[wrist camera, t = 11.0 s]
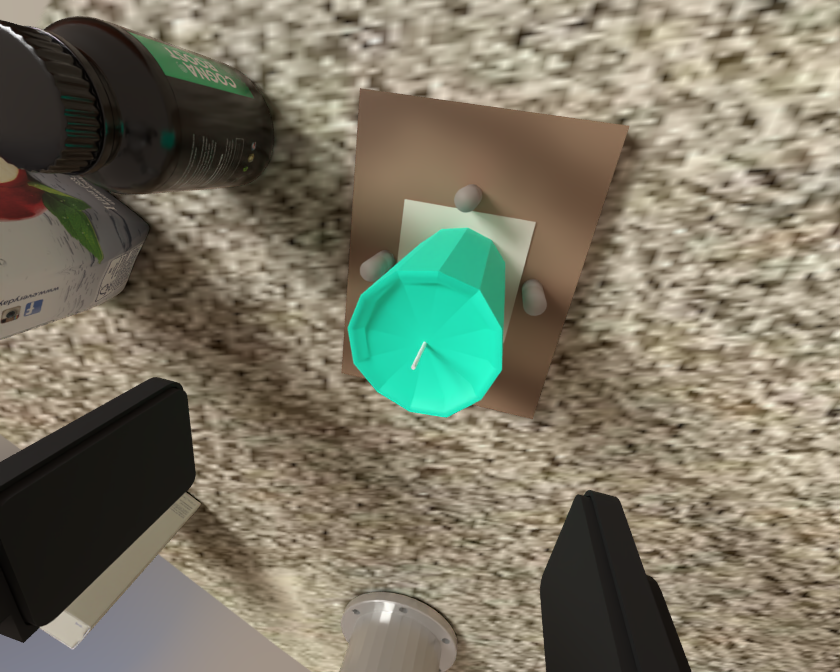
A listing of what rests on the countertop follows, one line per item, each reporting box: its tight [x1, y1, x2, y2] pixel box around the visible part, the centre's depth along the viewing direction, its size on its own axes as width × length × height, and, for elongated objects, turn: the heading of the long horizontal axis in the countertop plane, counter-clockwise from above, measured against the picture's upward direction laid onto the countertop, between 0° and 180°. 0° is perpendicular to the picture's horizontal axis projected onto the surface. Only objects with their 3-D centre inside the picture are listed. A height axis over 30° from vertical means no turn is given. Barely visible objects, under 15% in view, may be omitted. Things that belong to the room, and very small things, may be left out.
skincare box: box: [40, 492, 201, 649], centre depth 36 cm, size 6×4×12 cm
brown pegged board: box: [342, 88, 629, 419], centre depth 23 cm, size 18×14×4 cm
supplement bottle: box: [0, 16, 274, 194], centre depth 19 cm, size 7×7×12 cm
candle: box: [348, 228, 505, 418], centre depth 18 cm, size 6×6×12 cm
